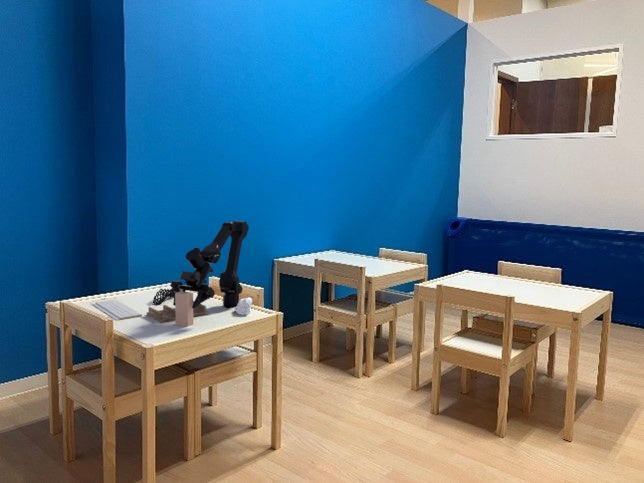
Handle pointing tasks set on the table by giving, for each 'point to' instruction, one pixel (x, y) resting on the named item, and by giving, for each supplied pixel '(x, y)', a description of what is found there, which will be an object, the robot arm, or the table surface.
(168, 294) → the decorative element
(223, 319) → the table surface
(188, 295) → the pinkish tan block
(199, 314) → the drying rack
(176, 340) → the table surface
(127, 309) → the baseboard molding
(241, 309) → the baby figurine
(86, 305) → the table surface
